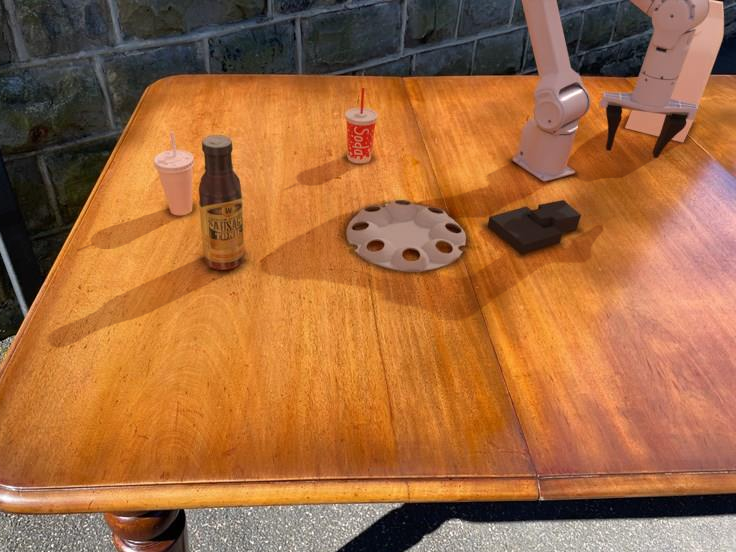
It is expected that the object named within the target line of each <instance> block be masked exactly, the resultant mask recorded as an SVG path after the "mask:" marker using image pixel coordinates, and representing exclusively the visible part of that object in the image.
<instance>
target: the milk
mask: <svg viewBox="0 0 736 552" xmlns="http://www.w3.org/2000/svg"><path fill="white" fill-rule="evenodd" d="M709 4H710V8H709V12H708V15H707V17H706V18H705V20H704V21H703V22H702V23H701V24H700V25H698V26H697V27H695V28H693V29H696V31H695V34H694V37H693V39H692V42H691V44H690V48H689V51H688V54H687V56H686V59H685V62H684V64H683V67H682V70H681V72H680V75H679V77H678V80H677V83H676V85H675V88H674V91H673V93H672V96H671V99H675V100H679V101H682V102H687V103H692V104H697V107H698V108H699V105H700V103H701V100H702V97H703V95H704V92H705V89H706V87H707V84H708V81H709V78H710V76H711V74H712V70H713V67H714V65H715V62H716V60H717V56H718V54H719V51H720V48H721V45H722V42H723V40H724V39H723V38H724V32H725V16H724V15H725V14H724V13H725V11H724V2H723V1H719V0H709ZM693 29H691V30H693ZM665 116H666V115H665V114H658V113H650V112H643V111H636V110H630V114H629V116H628V119H627V121H626V124H625V127H624V129H627V130H631V131H635V132H639V133H642V134H647V135H650V136H655V137H659V135H660V133H661V130H662V126H663V123H664V120H665ZM686 122H687V123H686V126H685V127H684V129H683V130H681V131H680V132H679V133H678V134H676V135H675V136H674V137H673V138H672V139H671V140H670V141H675V142H679V143H684V142H685V139H686V138H687V135H688V133H689V131H690V129H691V127H692V125H693V122H694V120H690V119H686Z"/></svg>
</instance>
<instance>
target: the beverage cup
mask: <svg viewBox="0 0 736 552" xmlns="http://www.w3.org/2000/svg"><path fill="white" fill-rule="evenodd" d="M364 99H365V87H361V93H360V107H354V108H351V109H348V110H346V112H345V114H344V116H345V117H344V119H345V120H346V152H347V153H346V154H347V155H346V156H347V160H348V161H350V162H351V163H354V164H358V165H359V164H366V163H369V162H370V161H371V159H372V151H373V145H374V137H375V130H376V124H377V121H378V116H379V115H378V112H376V111H375V110H373V109H370V108H366V107H364V103H365V101H364Z"/></svg>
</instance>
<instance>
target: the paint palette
mask: <svg viewBox="0 0 736 552" xmlns="http://www.w3.org/2000/svg"><path fill="white" fill-rule="evenodd" d="M363 224H364V225H365V224H367V225H368V227H366V228H363V229H361V230H356V229H355V230H354V229H353V228H354V227H358V226H362V225H363ZM447 227H449V228H454V229H456V230H459V231H460V232H458V233H456V232H453V231H451V230H449V229H448V228H447ZM346 239H347V240H346V241H347V242H348V244H349V245H352V246H356V247H357V249H354V252H355V253H356V254H357V255H358V256H359V257H361V258H362V259H364V260H366V261H367V262H369V263H371V264H373V265H376V266H378V267H382V268H385V269H389V270H392V271H399V272H405V273H406V272H407V273H411V272H412V273H418V272H419V273H420V272H427V271H428V272H429V271H433V270H437V269H441V268H443V267H446V266H449V265H450V264H451V265H452V263H454V262H455V261H456V260H458V259H459V258H460V256H462V254H463V252H464V251H463V250H461V249H459V248H460V247H465V246H466V242H467V234H466V231H465V230H464V229H463V228H462V227H461V226H460V224H459V223H458V222H456V221H455V219H453V218H452V217H450V216H449V215H448V214H447V213H446V211H445V210H443V209H442V208H440V207H438V206H434V205H429V206H425V205H420V204H415V203H413V202H412V201H410V200H407V199H396V200H393V201H391V202H390V203H385V204H384V207H383V206H380V205H368V206H366V207H364V208H362V209H361V210H359V212H358V213H357V214H356V215H355V216H354V217H353V218H352V219H351V220H350V221H349V224H348V226H347V228H346ZM374 241H377V242H379V243H383V247H382V248H381V249H380V250H377V251H371V250H369V249H368V245H369V244H370V243H372V242H374ZM440 242H444V243H447V244H448V245H450V247H451V249H452V251H450V252H449V253H446V252H442V251H440V250H439V249H438V248H437V246H436V245H437V244H438V243H440ZM407 250H408V251H409V250H410V251H417V252H418V253H419V258H418V259H417V260H414V261H409V260H407V259H405V257H403V253H404V252H405V251H407Z"/></svg>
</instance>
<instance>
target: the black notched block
mask: <svg viewBox="0 0 736 552" xmlns="http://www.w3.org/2000/svg"><path fill="white" fill-rule="evenodd" d="M581 217H582V214H581V213H580V212H578V211H577V210H576V209H575V208H573V207H572V205H570V204H568V202H566V201H565V200H564V199H561V200H556V201H551V202H546V203H545V202H544V203H540V204H538V206H537V208H535V209H531V214H530V217H529V218H531V219H532V220H533V221H535V222H536V223H537V224H539V225H540V226H541V227H543V228H548V227H551V226H554V227H556V228H557V229H558V230H560V231H561V232H563V234H564V233H569V232H573V231H577V229H578V227H579V223H580V220H581Z"/></svg>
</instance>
